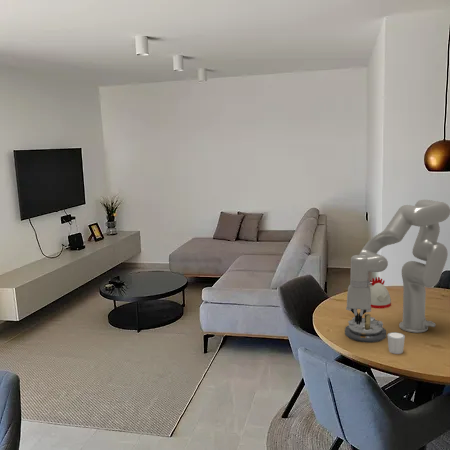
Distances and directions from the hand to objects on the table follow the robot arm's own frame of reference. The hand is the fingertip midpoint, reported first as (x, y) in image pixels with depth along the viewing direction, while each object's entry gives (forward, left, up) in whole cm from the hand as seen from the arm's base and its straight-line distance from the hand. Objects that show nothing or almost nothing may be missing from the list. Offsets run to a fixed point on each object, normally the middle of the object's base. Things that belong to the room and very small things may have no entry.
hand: (358, 323), depth 214 cm
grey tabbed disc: (-2, -7, -5) cm, 9 cm away
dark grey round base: (-2, -7, -8) cm, 10 cm away
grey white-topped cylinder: (-16, +8, -8) cm, 19 cm away
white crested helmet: (-3, -50, -8) cm, 50 cm away
